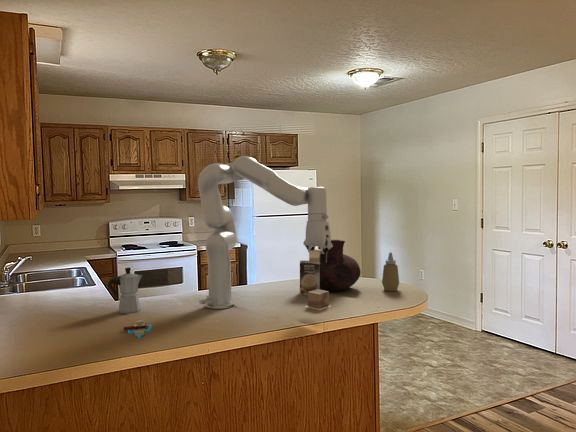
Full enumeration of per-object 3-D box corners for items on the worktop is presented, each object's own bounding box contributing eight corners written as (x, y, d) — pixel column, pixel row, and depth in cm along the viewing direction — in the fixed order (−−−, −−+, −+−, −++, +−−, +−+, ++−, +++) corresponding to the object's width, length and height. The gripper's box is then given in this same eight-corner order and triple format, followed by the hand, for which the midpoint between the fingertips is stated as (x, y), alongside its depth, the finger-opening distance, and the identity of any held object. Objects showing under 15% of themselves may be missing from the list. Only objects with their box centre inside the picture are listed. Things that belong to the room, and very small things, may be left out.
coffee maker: (139, 306, 199) (137, 264, 198) (149, 309, 193) (147, 266, 191) (104, 313, 189) (102, 269, 187) (114, 317, 182) (112, 272, 181)
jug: (366, 285, 230) (366, 235, 229) (351, 297, 208) (350, 241, 206) (319, 281, 241) (319, 234, 239) (300, 292, 218) (299, 239, 217)
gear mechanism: (122, 341, 155) (151, 338, 158) (121, 325, 155) (150, 323, 157) (125, 324, 174) (151, 322, 177) (124, 310, 174) (150, 308, 177)
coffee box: (299, 298, 207) (298, 262, 206) (300, 294, 214) (299, 260, 213) (319, 298, 206) (319, 262, 205) (320, 295, 213) (319, 260, 212)
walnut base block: (319, 309, 184) (319, 294, 184) (308, 306, 188) (307, 291, 188) (329, 306, 188) (328, 291, 188) (317, 303, 192) (317, 289, 192)
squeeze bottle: (401, 292, 216) (401, 253, 215) (383, 292, 216) (383, 253, 215) (397, 288, 224) (397, 251, 223) (380, 288, 224) (380, 251, 223)
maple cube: (318, 264, 183) (318, 251, 183) (309, 262, 187) (309, 250, 187) (326, 262, 187) (326, 250, 187) (317, 261, 191) (317, 249, 190)
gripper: (339, 217, 183) (340, 263, 184) (307, 216, 194) (308, 259, 196) (327, 219, 177) (328, 266, 178) (295, 217, 189) (296, 261, 190)
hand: (317, 262), depth 187 cm, fingers closed on maple cube, 4 cm apart
